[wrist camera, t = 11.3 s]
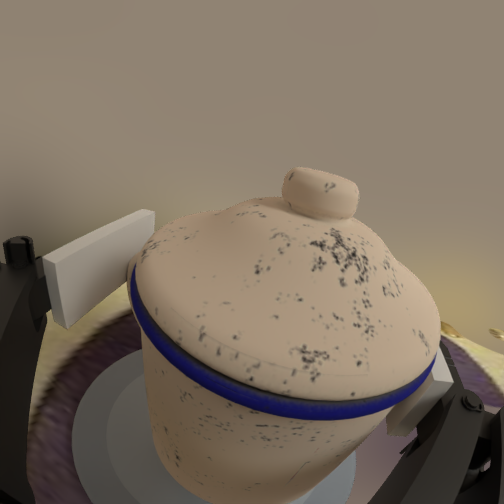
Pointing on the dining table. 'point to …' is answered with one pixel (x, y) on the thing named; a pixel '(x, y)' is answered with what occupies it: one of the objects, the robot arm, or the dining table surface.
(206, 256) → the teacup with lid
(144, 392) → the dish
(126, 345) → the dining table surface
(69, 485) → the dining table surface
